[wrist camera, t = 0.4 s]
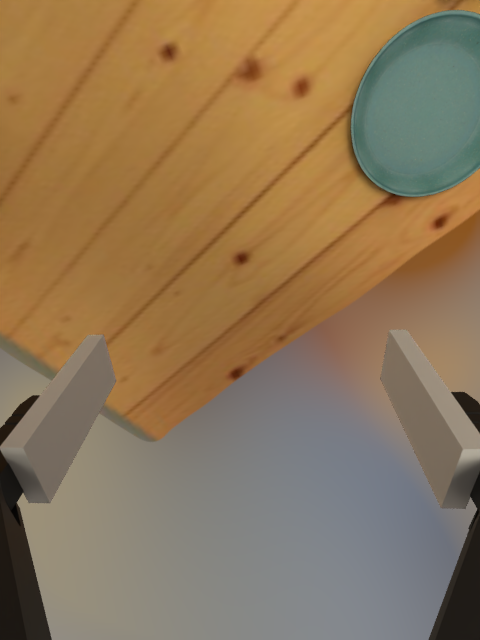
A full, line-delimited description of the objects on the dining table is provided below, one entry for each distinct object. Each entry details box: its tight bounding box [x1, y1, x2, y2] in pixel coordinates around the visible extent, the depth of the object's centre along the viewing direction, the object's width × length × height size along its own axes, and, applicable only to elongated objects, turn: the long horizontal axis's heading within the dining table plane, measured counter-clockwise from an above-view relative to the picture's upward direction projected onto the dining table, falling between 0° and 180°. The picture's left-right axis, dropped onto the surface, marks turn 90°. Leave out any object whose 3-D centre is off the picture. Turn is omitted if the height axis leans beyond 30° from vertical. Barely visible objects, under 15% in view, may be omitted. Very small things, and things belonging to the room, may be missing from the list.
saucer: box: [351, 10, 480, 197], centre depth 34 cm, size 15×15×3 cm
